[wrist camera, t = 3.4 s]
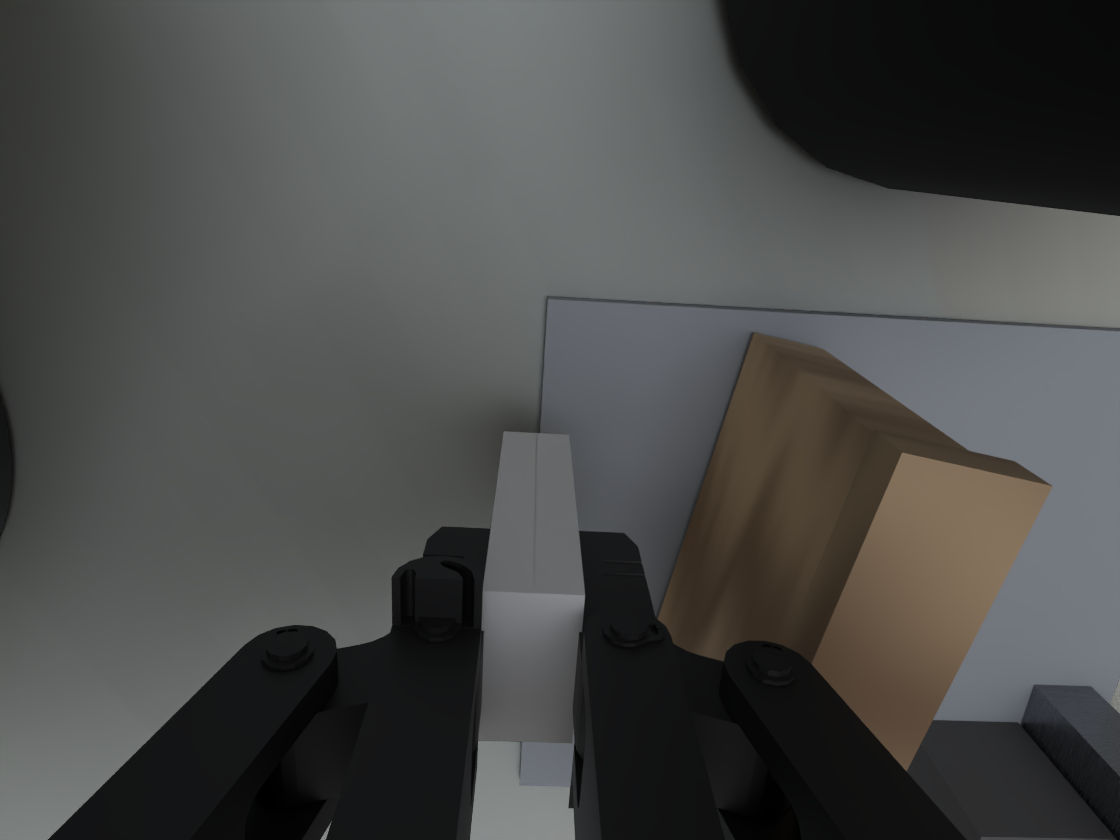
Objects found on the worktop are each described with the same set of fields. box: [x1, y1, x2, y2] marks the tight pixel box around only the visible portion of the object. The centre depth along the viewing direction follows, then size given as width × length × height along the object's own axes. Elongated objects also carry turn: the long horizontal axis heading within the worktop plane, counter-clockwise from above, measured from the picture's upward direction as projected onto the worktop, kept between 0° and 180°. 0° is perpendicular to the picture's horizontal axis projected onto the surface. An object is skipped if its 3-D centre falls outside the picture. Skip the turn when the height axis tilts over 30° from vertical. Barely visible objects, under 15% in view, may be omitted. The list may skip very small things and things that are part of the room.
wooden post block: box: [658, 333, 1053, 771], centre depth 18 cm, size 11×3×9 cm, turn 166°
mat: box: [520, 296, 1120, 787], centre depth 24 cm, size 20×17×1 cm
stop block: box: [907, 720, 1116, 840], centre depth 24 cm, size 4×2×5 cm, turn 87°
